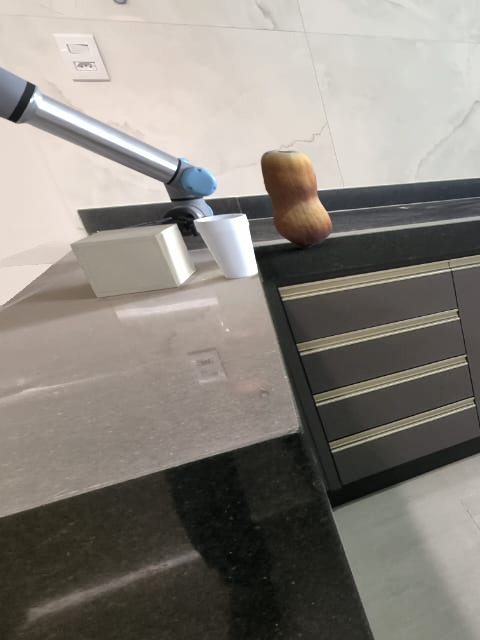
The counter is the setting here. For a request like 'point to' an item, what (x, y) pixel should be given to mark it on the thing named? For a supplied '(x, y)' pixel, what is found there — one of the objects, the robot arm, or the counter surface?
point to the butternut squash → (295, 198)
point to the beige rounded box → (134, 259)
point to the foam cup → (229, 243)
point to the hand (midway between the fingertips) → (159, 234)
